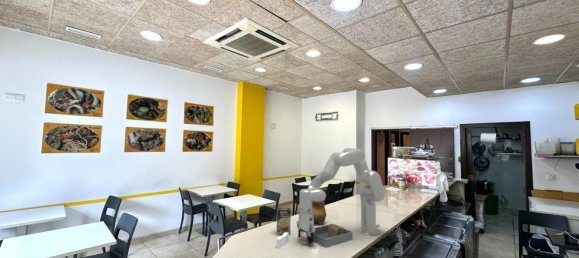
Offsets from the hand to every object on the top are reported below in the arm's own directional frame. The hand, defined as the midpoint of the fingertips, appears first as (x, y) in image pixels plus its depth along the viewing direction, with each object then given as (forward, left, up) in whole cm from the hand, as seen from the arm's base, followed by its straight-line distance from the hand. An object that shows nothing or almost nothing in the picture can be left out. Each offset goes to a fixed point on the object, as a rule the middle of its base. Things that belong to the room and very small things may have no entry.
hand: (305, 239), depth 143 cm
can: (0, 0, -2) cm, 2 cm away
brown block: (-22, +3, -1) cm, 22 cm away
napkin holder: (+13, -6, -3) cm, 15 cm away
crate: (-16, +3, -2) cm, 16 cm away
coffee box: (+3, -20, -2) cm, 20 cm away
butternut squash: (-29, -24, -2) cm, 38 cm away
